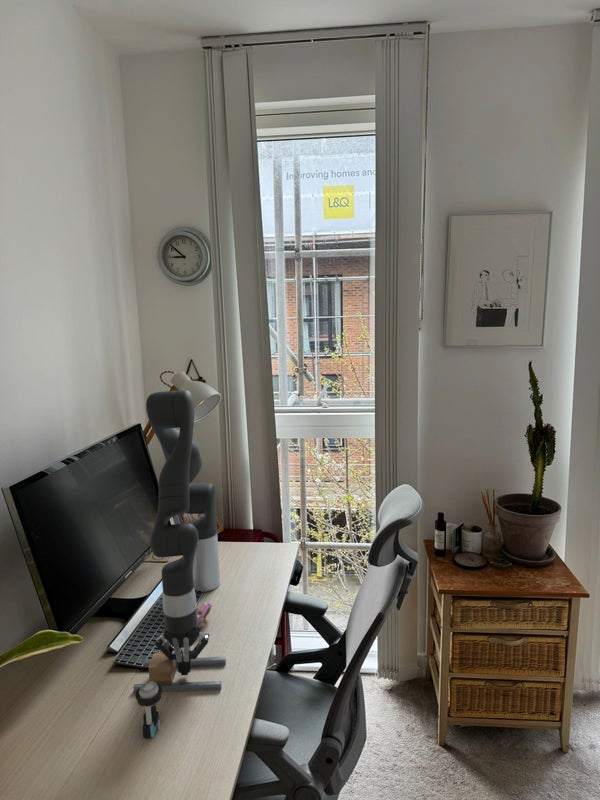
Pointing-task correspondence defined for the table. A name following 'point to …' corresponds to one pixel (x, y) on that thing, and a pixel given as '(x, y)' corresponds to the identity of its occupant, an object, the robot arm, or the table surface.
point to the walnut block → (161, 669)
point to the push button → (149, 706)
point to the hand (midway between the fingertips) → (185, 673)
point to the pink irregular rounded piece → (203, 613)
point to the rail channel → (191, 685)
